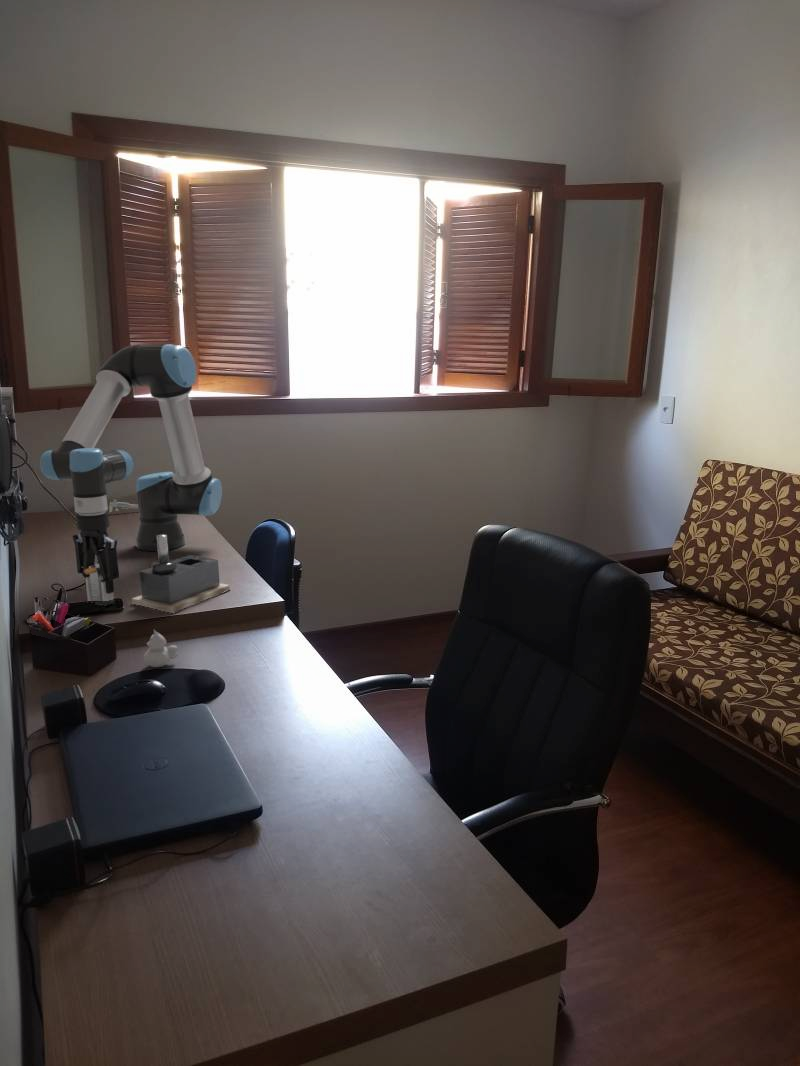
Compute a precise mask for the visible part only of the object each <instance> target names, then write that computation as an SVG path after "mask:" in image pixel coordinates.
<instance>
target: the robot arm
mask: <svg viewBox="0 0 800 1066" xmlns="http://www.w3.org/2000/svg"><path fill="white" fill-rule="evenodd" d="M196 380H197V366H196V363H195V359H194V357H193V355H192V354H191V352H190V351H189V350H188V349H187V348H186V347H185V346H182V345H178V344H172V343H166V344H132V345H128V346H125V347H124V348H121V349H120V350H118V351H117V352H115V353H114V354H112V356H110V357H109V358H108V359H107V360H106V362H104V363H103V365H102V366H101V367H100V369H99V371H98V372H97V374H96V377H95V381H96V383H95V385H94V387H92V390H91V392H90V393H89V395H88V397H87V398H86V400H85V402H84V404H83V406H82V407H81V409H80V410H79V412H78V413H77V415H76V417H75V419H74V420H73V422H72V424H71V425H70V427H69V428H68V431H67V433H66V434H65V435H64V437H63V439H62V440H61V443H60V445H58V447H57V449H51V450H47V451H45V452H43V454H42V455H41V457H40V460H39V468H40V471H41V473H42V474H43V476H44V477H46V479H49V480H54V481H55V480H56V481H71V485H72V492H73V502H74V503H73V504H74V511H75V513H76V515H75V524H76V529H77V530H78V531H80V532H79V533H77V534H73V535H72V540H73V543H74V549H75V550H74V551H75V559H76V570H77V571H76V572H77V574H81V575H82V577H84V586H85V590H86V597H87V602H88V601H93V599H92V590H91V581H90V574H88V575H86V574H85V572H84V570H85V569H88V568H89V566H92V565H95V564H96V559H97V564H98V563H99V566H100V570H101V574H102V577H103V580H101V588H102V598H103V601H109V600H113V599H114V600H115V598H114V593H115V588H114V587H115V586H114V580H116V579H118V578H120V570H119V564H118V563H119V561H118V554H117V553H118V552H117V545H118V540H117V539H116V538H114V539H112V538H110V537H109V534H108V532H107V530H108V528H109V527H110V525H111V524H110V513H109V512H108V510H109V504H108V495H107V486H106V485H107V484H110V483H113V482H117V481H118V482H119V481H122V480H124V479H126V478H128V477H129V476H131V474H133V470H134V466H135V465H134V464H135V463H134V461H133V458H132V456H131V455H130V453H128V452H127V451H125V450H123V449H122V450H121V449H116V450H115V449H111V450H110V451H103V450H101V449H100V448H97V447H96V445H97V443H98V442H99V439H100V438H101V436H102V434H103V432H104V431H105V428H106V426H107V425H108V424H109V422H110V420H111V418H112V417H113V415H114V412H116V409H117V408H118V405H119V404H120V402H121V401H122V398H123V397H127V396H128V395H129V394H130V392H131V390H132V389H135V388H138V387H148V388H149V392H150V395H151V397H152V398H154V399H155V400H157V401H158V405H159V409H160V413H161V417H162V421H163V426H164V429H165V433H166V436H167V442H168V444H169V448H170V453H171V457H172V460H173V464H174V469H175V472H173V471H164V472H155V473H151V474H146V475H142V476H140V477H138V478H137V479H136V484H135V486H136V487H135V488H136V490H135V493H136V500H137V505H138V509H137V510H138V517H139V519H138V520H139V523H138V524H139V525H138V530H137V534H136V535H137V536H136V538H135V547H137V548H136V549H138V550H141V551H144V552H145V551H148V552H158V546H157V535H161V534H165V535H167V544H168V551H169V550H174V549H178V548H180V547H183V546H184V545H185V544H186V537H185V534H184V532H183V530H182V527H181V524H180V523H179V520H178V515H185V516H187V515H188V516H200V517H202V516H203V517H204V516H213V515H214V514H215V513H216V512H217V511H218V509H219V508H220V505H221V502H222V497H223V485H222V482H221V480H220V479H219V478H215V477H213V475H212V472H211V469H210V468H208V467H207V466H205V463H204V462H205V461H204V459H203V455H202V450H201V445H200V441H199V437H198V433H197V432H198V431H197V429H196V424H195V419H194V414H193V410H192V405H191V402H190V397H189V394H190V393H191V391H192V390H193V386H194V384H195V383H196ZM107 575H108V576H107Z"/></svg>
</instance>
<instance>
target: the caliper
mask: <svg viewBox="0 0 800 1066" xmlns="http://www.w3.org/2000/svg"><path fill="white" fill-rule="evenodd" d="M114 508H115V509H114ZM113 509H114V512H115V511H118V512H119V511H120V509H121V510H126V511H129V509H134V510H135V509H136V510H138V504H130V503H129V502H123V501H122V502H120V501H117V499H111V501H109V504H108V510H109V512H108V513H110V512H113Z"/></svg>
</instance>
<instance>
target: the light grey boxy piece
mask: <svg viewBox="0 0 800 1066" xmlns="http://www.w3.org/2000/svg"><path fill="white" fill-rule="evenodd" d="M84 572H85V574H86V575H88V574H90V581H91V590H92V599H93V601H103V598H102V588H101V580H103V577H102V574H101V570H100V566H99V563H98V562H97V563H95V564H94V565H92V566H89V568H88V569H85V570H84ZM107 576H108V575H107Z"/></svg>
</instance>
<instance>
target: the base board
mask: <svg viewBox="0 0 800 1066" xmlns="http://www.w3.org/2000/svg"><path fill="white" fill-rule="evenodd" d="M230 589H231V587H230V584H227V583H226V584H225V583H221V582H220V586H217V587H215V588H212V589H210V590H207V591H204V592H202V593H199V594H197V595H194V596H192V597H189V598H187V599H184V600H181V601H179V602H176V603H174V604H171V605H170V604H166V603H161V602H157V601H153V600H148V599H144V598H142V594H141V595H137V596H136V597H132V598H131V603H132V605H134V604H137V605H136V606H138V605H142V606H146V607H150V608H154V609H153V610H155V609H158V610H157V611H159V610H162V611H161V612H163V611H167V612H171V613H173V612H176V611H178V612H180V611H179V610H181V609H183V608H186V607H188V606H190V607H192V606H191V605H193V604H195V605H197V604H196V603H198V602H200V603H202V602H201V601H203V600H205V601H207V600H206V599H208V598H210V599H212V598H211V597H213V596H215V597H216V595H218V594H220V593H222V592H224V591H226V590H230ZM222 594H223V593H222ZM220 595H221V594H220ZM218 596H219V595H218ZM213 598H214V597H213ZM208 600H209V599H208ZM203 602H204V601H203ZM198 604H199V603H198ZM142 606H141V607H142ZM193 606H194V605H193ZM146 607H145V608H146ZM150 608H149V609H150ZM188 608H189V607H188ZM186 609H187V608H186ZM183 610H184V609H183ZM181 611H182V610H181ZM167 612H166V613H167ZM171 613H170V614H171ZM176 613H177V612H176ZM173 614H174V613H173Z"/></svg>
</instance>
